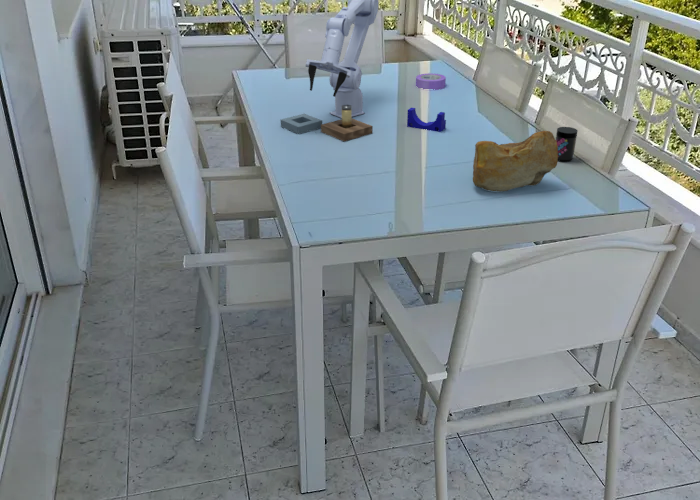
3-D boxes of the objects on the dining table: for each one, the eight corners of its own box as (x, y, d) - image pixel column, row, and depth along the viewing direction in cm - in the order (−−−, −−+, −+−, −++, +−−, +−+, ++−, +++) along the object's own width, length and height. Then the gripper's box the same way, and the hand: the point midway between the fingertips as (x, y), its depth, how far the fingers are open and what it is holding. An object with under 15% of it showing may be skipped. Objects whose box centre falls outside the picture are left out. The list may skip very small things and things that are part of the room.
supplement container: (551, 155, 212) (555, 126, 208) (571, 155, 212) (575, 127, 207) (554, 162, 207) (558, 132, 203) (574, 163, 207) (579, 133, 202)
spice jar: (347, 130, 233) (347, 103, 228) (353, 132, 230) (353, 106, 226) (339, 132, 231) (339, 105, 226) (346, 135, 229) (345, 108, 224)
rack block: (304, 120, 242) (304, 113, 240) (322, 127, 235) (322, 120, 234) (280, 126, 236) (280, 119, 235) (298, 134, 229) (298, 126, 228)
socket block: (348, 124, 238) (348, 117, 237) (372, 133, 230) (372, 126, 229) (321, 132, 231) (320, 124, 230) (344, 141, 223) (344, 134, 222)
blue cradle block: (445, 128, 235) (446, 111, 232) (440, 132, 231) (441, 115, 228) (412, 123, 239) (412, 106, 236) (407, 127, 236) (407, 109, 233)
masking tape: (412, 89, 276) (413, 79, 274) (419, 81, 286) (419, 72, 284) (442, 91, 273) (442, 81, 271) (447, 83, 283) (448, 74, 281)
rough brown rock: (535, 170, 204) (538, 119, 198) (561, 188, 189) (565, 134, 183) (458, 178, 201) (459, 127, 195) (478, 197, 186) (479, 142, 180)
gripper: (310, 42, 221) (301, 82, 219) (355, 53, 222) (346, 93, 220) (309, 51, 228) (299, 90, 226) (352, 62, 229) (343, 101, 227)
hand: (322, 92), depth 224 cm, fingers open, 7 cm apart
